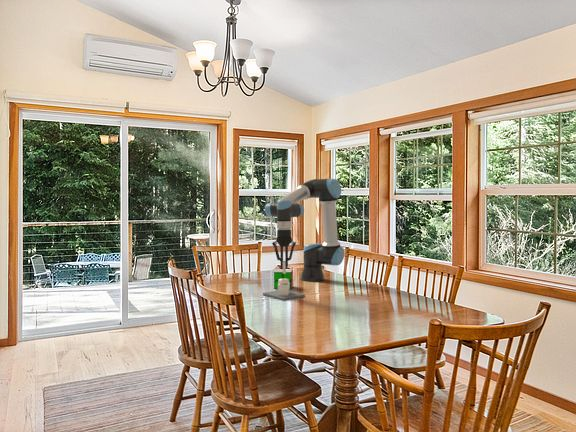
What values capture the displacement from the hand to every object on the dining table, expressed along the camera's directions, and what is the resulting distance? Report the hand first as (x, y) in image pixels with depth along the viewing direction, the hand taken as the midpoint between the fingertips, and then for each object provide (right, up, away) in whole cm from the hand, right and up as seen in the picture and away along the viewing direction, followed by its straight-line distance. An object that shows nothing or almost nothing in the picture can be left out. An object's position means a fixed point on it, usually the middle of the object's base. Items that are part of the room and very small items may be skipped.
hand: (284, 273), depth 244 cm
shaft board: (0, -12, 0) cm, 12 cm away
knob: (0, -11, 0) cm, 11 cm away
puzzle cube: (-1, -12, +24) cm, 26 cm away
